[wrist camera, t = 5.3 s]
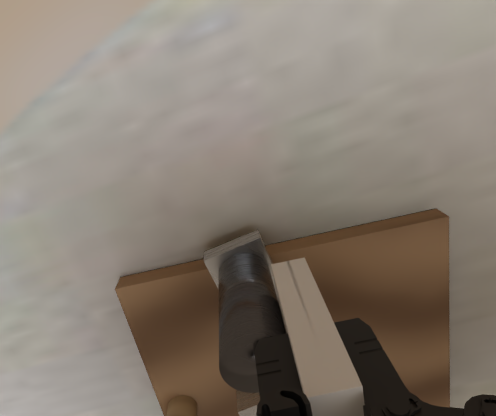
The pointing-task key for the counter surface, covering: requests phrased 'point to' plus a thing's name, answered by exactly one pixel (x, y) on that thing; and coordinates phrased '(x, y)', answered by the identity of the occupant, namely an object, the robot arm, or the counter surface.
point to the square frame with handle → (244, 312)
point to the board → (334, 295)
